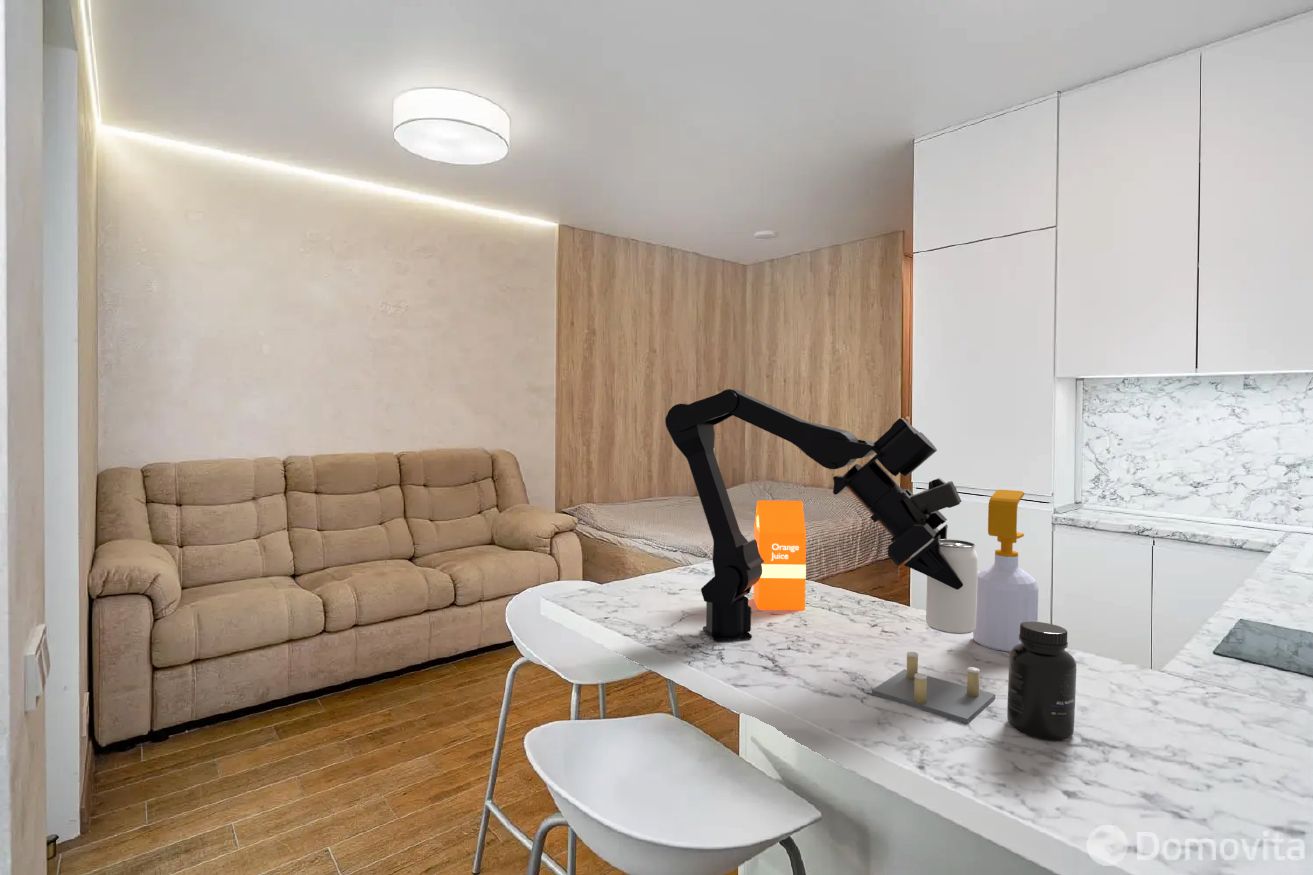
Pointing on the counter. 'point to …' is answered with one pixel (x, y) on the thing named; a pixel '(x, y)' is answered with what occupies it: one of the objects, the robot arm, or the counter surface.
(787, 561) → the orange juice
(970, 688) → the peg board
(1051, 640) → the supplement bottle
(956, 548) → the can
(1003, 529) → the soap bottle
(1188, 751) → the counter surface
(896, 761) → the counter surface
